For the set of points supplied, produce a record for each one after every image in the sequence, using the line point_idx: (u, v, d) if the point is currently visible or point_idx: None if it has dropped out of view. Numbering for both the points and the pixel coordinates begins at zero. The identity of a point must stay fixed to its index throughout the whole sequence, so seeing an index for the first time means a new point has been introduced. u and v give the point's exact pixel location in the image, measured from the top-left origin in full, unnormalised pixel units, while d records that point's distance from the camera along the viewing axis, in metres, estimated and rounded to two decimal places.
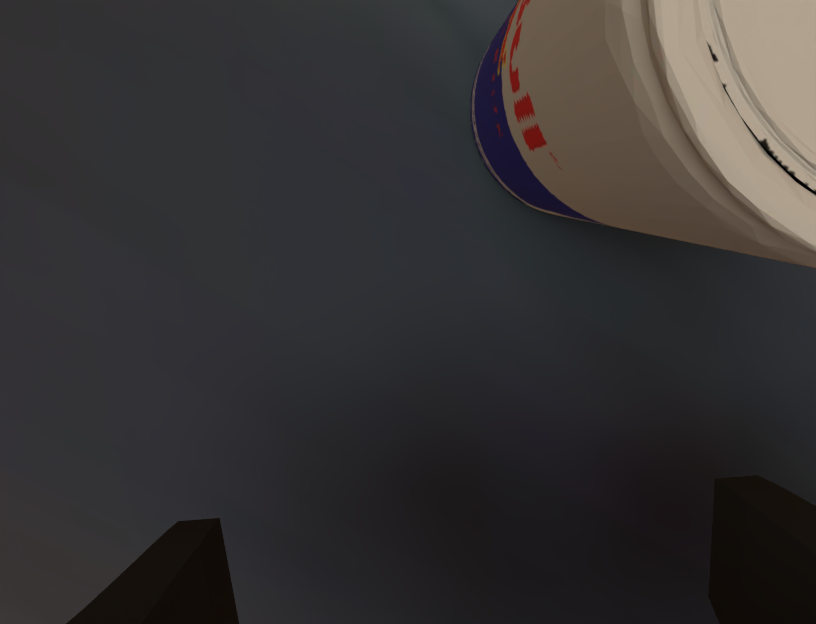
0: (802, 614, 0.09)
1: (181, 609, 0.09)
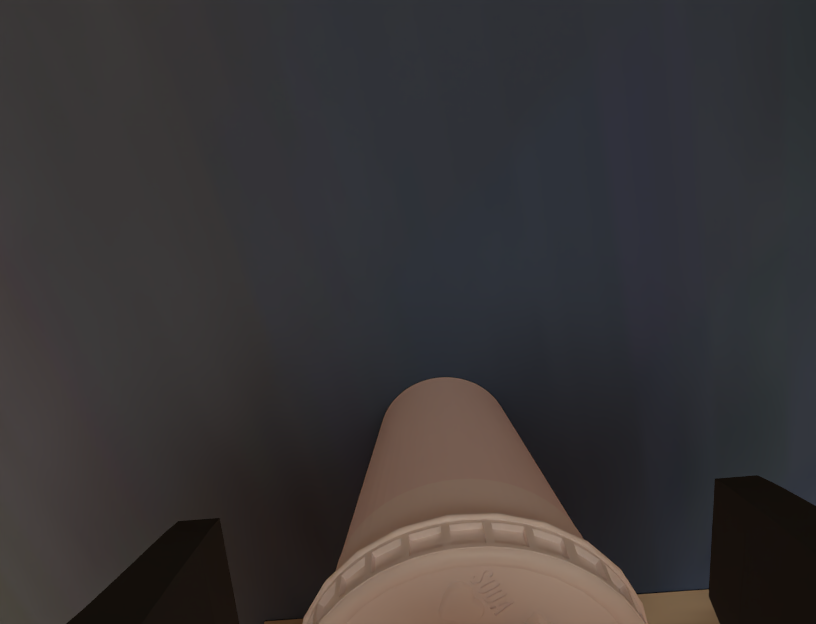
0: (802, 614, 0.09)
1: (181, 609, 0.09)
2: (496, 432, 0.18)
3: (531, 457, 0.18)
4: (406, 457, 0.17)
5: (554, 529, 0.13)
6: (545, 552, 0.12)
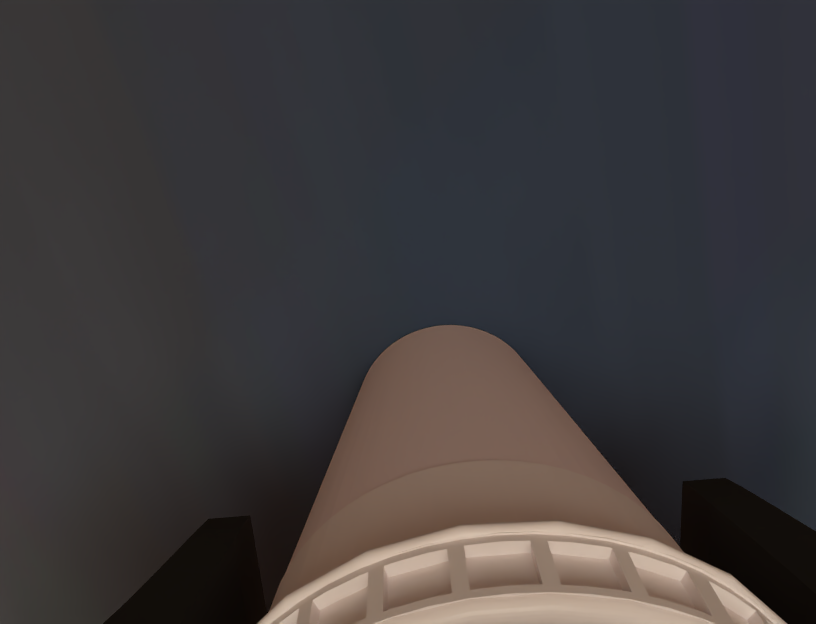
0: None
1: (217, 606, 0.09)
2: (530, 392, 0.12)
3: None
4: (388, 429, 0.10)
5: (667, 552, 0.07)
6: (665, 603, 0.06)
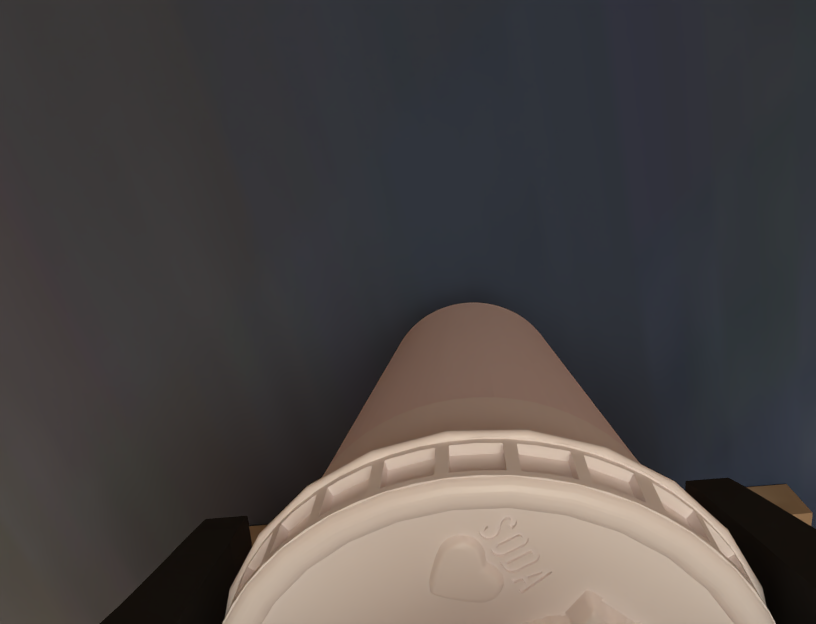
0: None
1: (213, 606, 0.09)
2: (537, 355, 0.13)
3: None
4: (407, 379, 0.12)
5: (619, 460, 0.08)
6: (605, 489, 0.07)
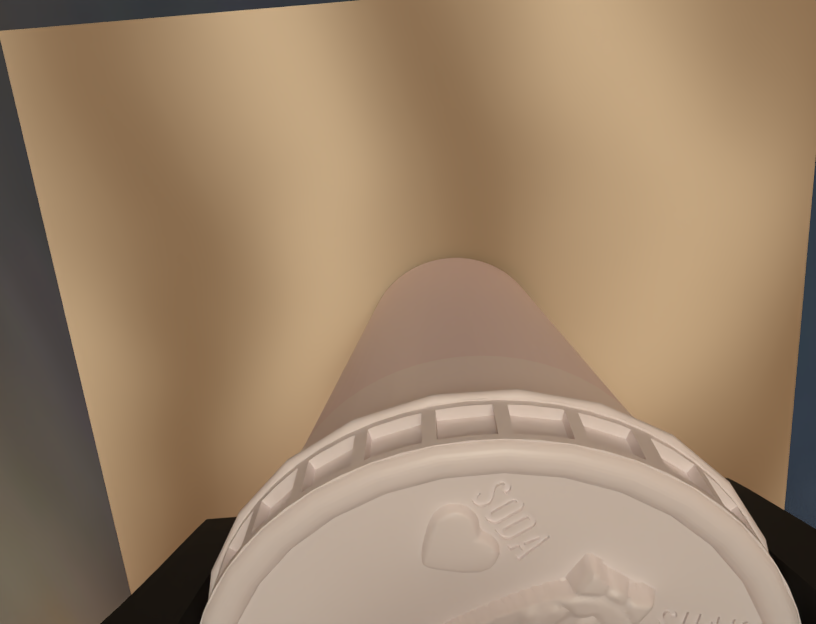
0: None
1: None
2: (521, 309, 0.13)
3: None
4: (387, 340, 0.11)
5: (615, 416, 0.08)
6: (603, 448, 0.07)
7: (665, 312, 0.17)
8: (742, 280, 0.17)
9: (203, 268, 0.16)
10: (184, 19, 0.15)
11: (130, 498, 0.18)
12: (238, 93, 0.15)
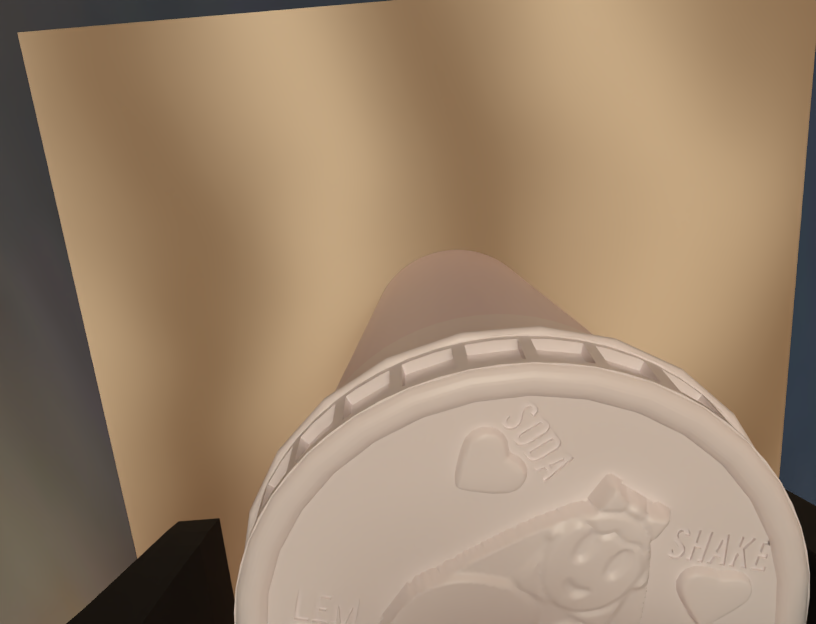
0: None
1: (181, 609, 0.09)
2: (525, 286, 0.13)
3: None
4: (401, 312, 0.12)
5: (629, 352, 0.08)
6: (622, 371, 0.08)
7: (660, 305, 0.17)
8: (735, 274, 0.17)
9: (213, 261, 0.17)
10: (196, 21, 0.15)
11: (141, 485, 0.19)
12: (248, 92, 0.16)
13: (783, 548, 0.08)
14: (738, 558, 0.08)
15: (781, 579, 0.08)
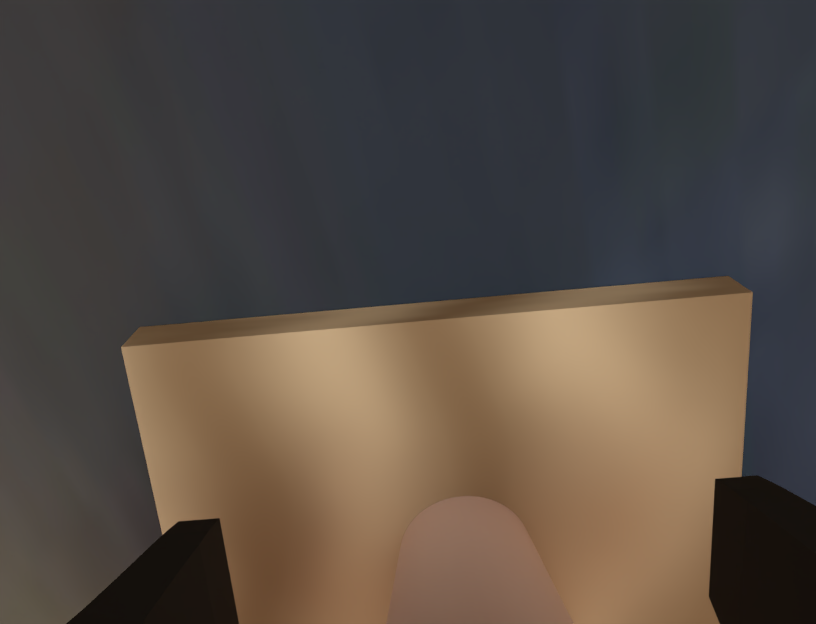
0: (802, 614, 0.09)
1: (181, 609, 0.09)
2: (519, 574, 0.17)
3: (556, 598, 0.18)
4: (428, 616, 0.16)
5: None
6: None
7: (631, 534, 0.22)
8: (690, 510, 0.21)
9: (271, 506, 0.21)
10: (261, 337, 0.20)
11: None
12: (301, 386, 0.20)
13: None
14: None
15: None
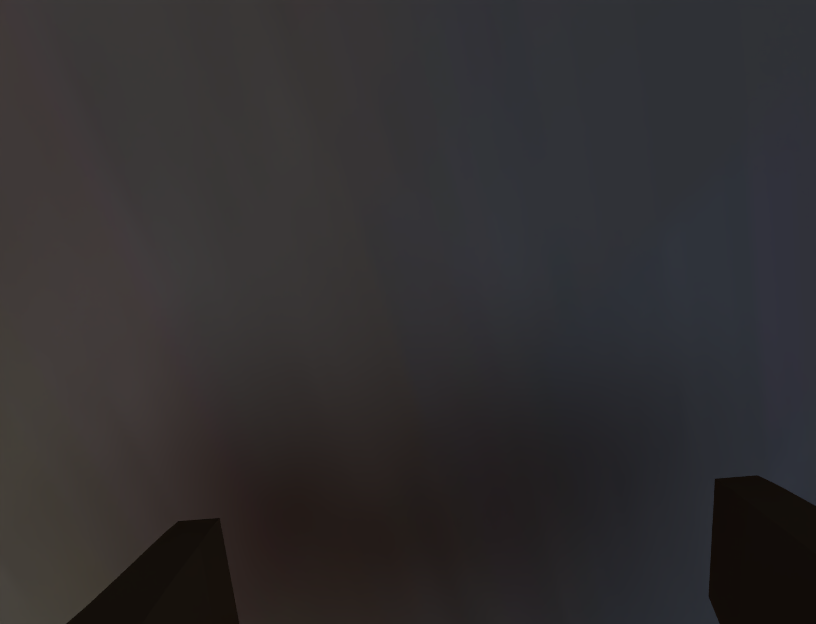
0: (802, 614, 0.09)
1: (181, 609, 0.09)
2: None
3: None
4: None
5: None
6: None
7: None
8: None
9: None
10: None
11: None
12: None
13: None
14: None
15: None
